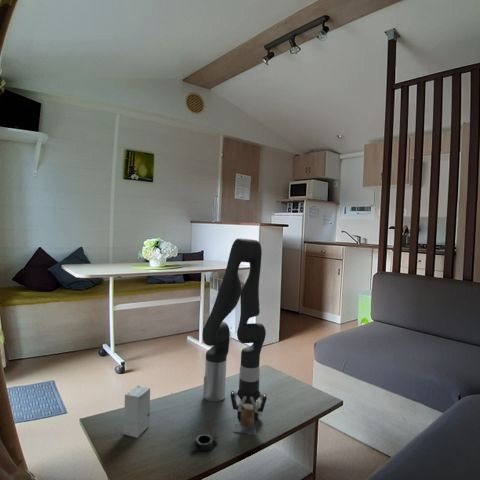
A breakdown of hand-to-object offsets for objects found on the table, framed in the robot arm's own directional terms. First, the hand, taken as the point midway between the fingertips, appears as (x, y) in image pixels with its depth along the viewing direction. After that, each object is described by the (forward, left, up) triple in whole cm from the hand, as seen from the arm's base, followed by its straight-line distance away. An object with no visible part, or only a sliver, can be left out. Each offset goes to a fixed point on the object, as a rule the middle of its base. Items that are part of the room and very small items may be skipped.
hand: (247, 420), depth 131 cm
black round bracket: (-14, -12, -4) cm, 19 cm away
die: (+1, +8, -4) cm, 9 cm away
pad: (-1, 0, -4) cm, 4 cm away
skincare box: (-40, -7, -4) cm, 41 cm away
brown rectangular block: (0, 0, -1) cm, 1 cm away
